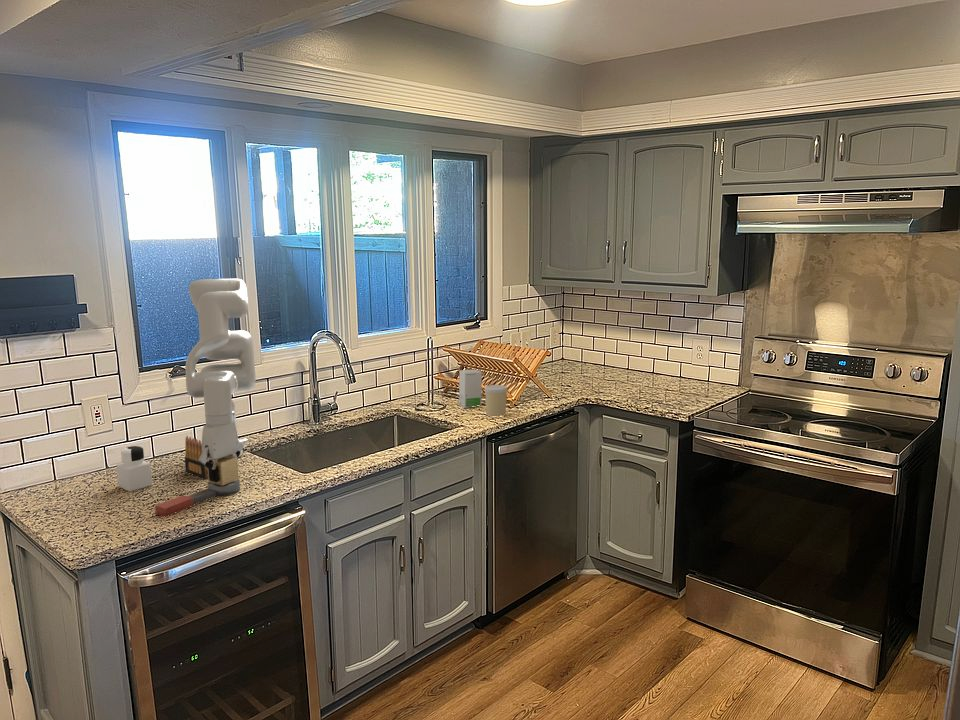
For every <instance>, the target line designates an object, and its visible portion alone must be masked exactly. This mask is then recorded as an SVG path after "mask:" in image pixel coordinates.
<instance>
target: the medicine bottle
mask: <svg viewBox="0 0 960 720" xmlns="http://www.w3.org/2000/svg"><path fill="white" fill-rule="evenodd" d="M120 455H121V462H120V463H117V464H116V474H117V485H118V487H119V488H121V489H124V490H125V491H127V492H133V491H137V490H140V489H145V488H147V487H151V486H153V477H152V465H151V462H148V461H146V460H145V454H144V448H143V447H142V446H138V445H131V446H127V447H124V448H123V449H121V451H120Z"/></svg>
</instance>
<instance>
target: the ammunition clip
mask: <svg viewBox="0 0 960 720" xmlns="http://www.w3.org/2000/svg"><path fill="white" fill-rule="evenodd" d="M184 447H185V449H184V451H185V452H184V453H185V456H184V466H185V467H184V469H185V473H186V472H187V474H189V473H190V474H189V475H192V474H193V475H192V476H194V475H195V477H197V476H198V477H197V478H200V479H202V478H203V479H202V480H208V468H206V466H204V465H203V464H202V463H201V462H199V458H200V456H201V454H202V440H200V439H199V440H198V439H197V438H194V437H191V436H188V435H186V437H185V445H184ZM206 460H207V458H206Z"/></svg>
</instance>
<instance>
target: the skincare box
mask: <svg viewBox="0 0 960 720" xmlns="http://www.w3.org/2000/svg"><path fill="white" fill-rule="evenodd" d="M458 374H459V375H458V376H459V378H458V379H459V380H458V381H459V382H458V383H459V388H458V393H459V395H458V398H459V399H458V405H459V407H461V406H462V408H463V407H464V408H463V409H468V408H467V407H472V406H477V405H481V406H482V393H483V391H482V388H483V387H482V381H483V380H482V377H483V373H482V371H481V370H478V369H461V370H459V373H458Z"/></svg>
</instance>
